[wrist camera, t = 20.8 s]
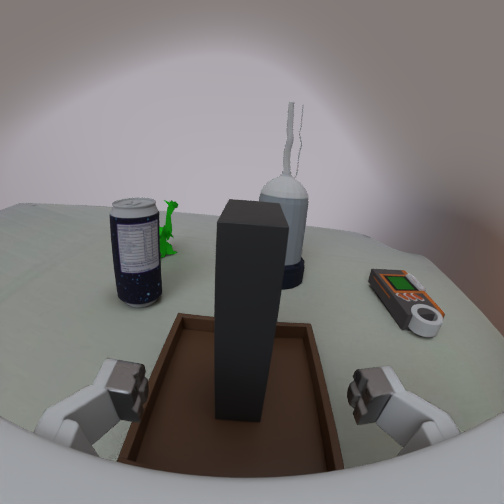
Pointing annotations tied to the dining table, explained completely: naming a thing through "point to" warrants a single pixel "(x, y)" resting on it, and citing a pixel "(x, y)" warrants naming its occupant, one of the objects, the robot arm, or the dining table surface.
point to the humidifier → (290, 209)
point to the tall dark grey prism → (246, 304)
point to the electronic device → (407, 301)
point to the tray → (235, 432)
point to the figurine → (167, 231)
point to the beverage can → (136, 250)
